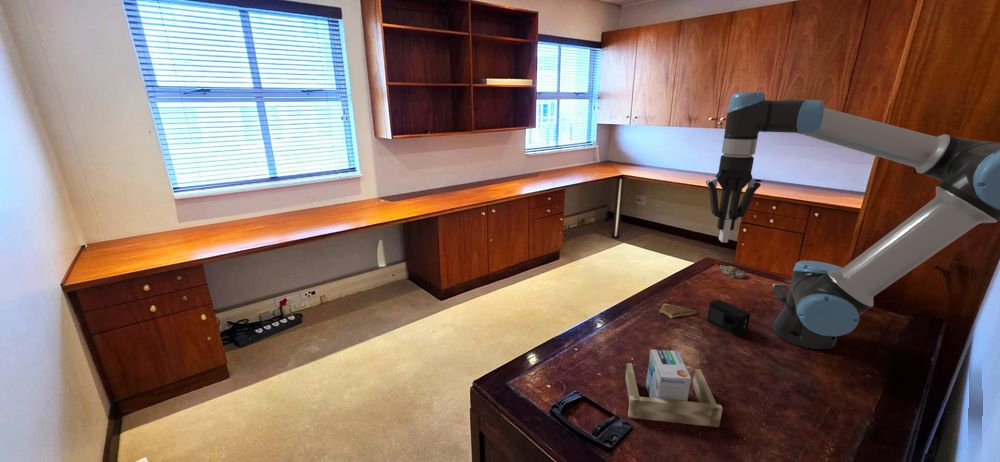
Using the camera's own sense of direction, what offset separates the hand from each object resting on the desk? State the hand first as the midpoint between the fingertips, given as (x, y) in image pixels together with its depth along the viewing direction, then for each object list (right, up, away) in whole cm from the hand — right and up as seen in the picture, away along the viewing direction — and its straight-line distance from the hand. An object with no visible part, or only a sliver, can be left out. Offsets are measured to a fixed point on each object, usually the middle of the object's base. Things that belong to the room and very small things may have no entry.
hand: (723, 240), depth 112 cm
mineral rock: (+32, -15, +51) cm, 62 cm away
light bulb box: (-23, -38, -16) cm, 47 cm away
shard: (-3, -25, +24) cm, 35 cm away
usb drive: (+40, -21, +33) cm, 56 cm away
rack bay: (-22, -38, -15) cm, 46 cm away
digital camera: (+8, -28, +14) cm, 32 cm away
